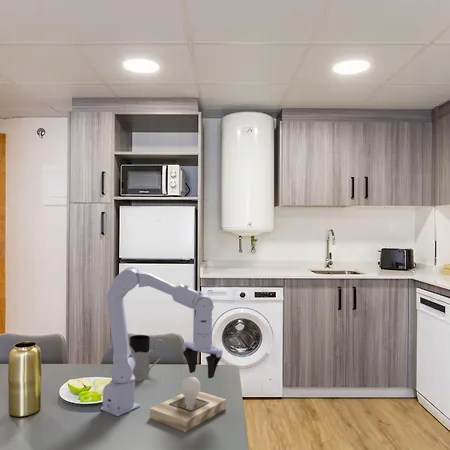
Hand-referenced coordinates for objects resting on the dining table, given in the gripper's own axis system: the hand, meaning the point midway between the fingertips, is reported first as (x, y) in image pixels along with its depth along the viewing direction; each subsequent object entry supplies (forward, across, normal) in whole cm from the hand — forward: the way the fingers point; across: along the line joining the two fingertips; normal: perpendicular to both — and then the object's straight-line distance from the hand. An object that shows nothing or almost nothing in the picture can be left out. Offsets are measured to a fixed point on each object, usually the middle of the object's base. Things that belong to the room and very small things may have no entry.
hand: (201, 374), depth 138 cm
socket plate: (+10, 0, +6) cm, 12 cm away
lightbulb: (+11, 0, +5) cm, 12 cm away
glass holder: (+11, +34, -9) cm, 37 cm away
